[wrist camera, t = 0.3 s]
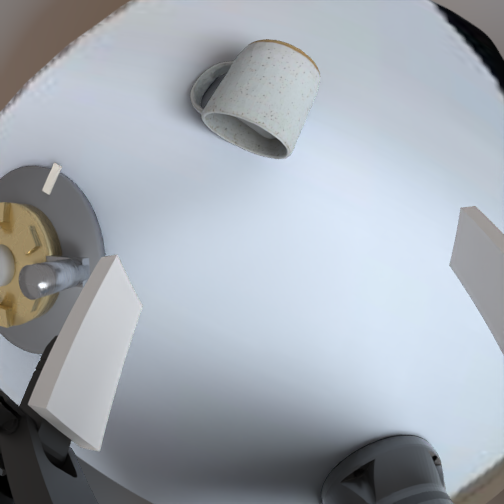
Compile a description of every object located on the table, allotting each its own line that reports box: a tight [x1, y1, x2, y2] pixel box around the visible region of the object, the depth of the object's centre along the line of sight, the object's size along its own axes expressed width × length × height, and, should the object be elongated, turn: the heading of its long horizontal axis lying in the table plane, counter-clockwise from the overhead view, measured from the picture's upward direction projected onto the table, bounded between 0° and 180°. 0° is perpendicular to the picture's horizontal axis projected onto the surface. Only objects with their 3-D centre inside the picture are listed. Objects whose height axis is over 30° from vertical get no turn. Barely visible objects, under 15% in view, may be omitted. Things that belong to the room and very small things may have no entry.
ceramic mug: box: [190, 39, 320, 159], centre depth 23 cm, size 11×8×8 cm
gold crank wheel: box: [0, 202, 90, 328], centre depth 22 cm, size 16×12×9 cm
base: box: [0, 163, 105, 354], centre depth 25 cm, size 20×20×7 cm
